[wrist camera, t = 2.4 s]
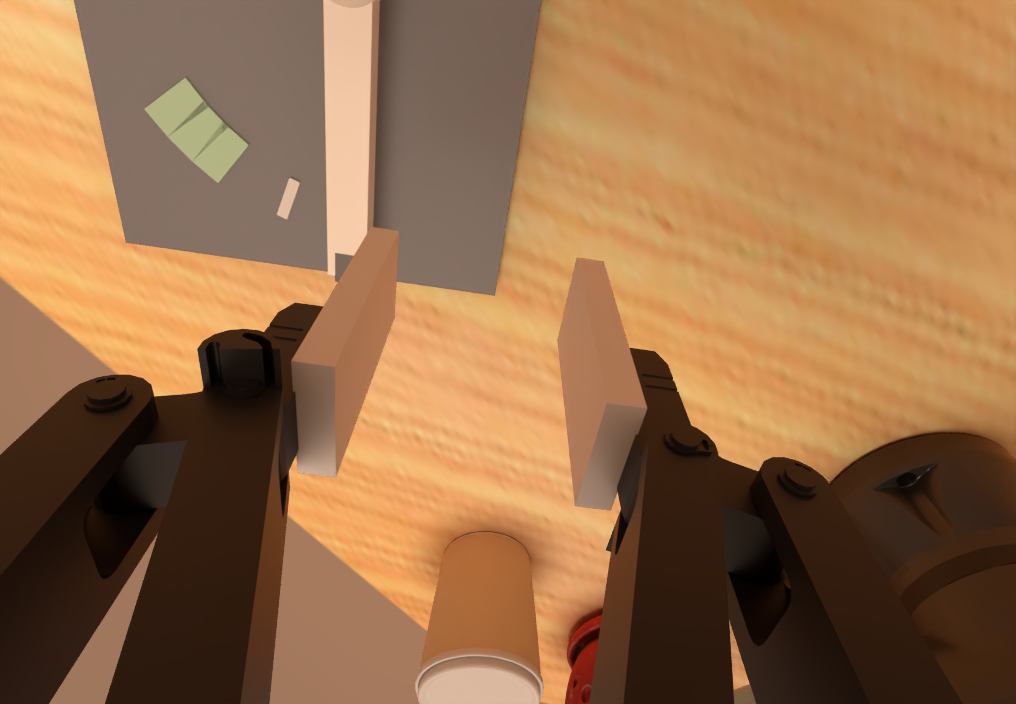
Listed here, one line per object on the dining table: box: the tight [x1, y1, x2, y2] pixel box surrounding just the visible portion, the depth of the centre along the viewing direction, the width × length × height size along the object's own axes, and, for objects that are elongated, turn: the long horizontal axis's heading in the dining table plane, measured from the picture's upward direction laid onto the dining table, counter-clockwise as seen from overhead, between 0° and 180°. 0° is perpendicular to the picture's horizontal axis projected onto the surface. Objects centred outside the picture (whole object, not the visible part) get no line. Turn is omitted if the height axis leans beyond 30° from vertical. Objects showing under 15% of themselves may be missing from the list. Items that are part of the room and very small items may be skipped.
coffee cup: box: [415, 532, 544, 704], centre depth 47 cm, size 9×9×12 cm
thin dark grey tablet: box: [74, 0, 541, 296], centre depth 30 cm, size 22×18×4 cm
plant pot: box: [565, 615, 602, 704], centre depth 53 cm, size 13×13×12 cm
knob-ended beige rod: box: [323, 0, 381, 282], centre depth 27 cm, size 16×3×2 cm, turn 171°
